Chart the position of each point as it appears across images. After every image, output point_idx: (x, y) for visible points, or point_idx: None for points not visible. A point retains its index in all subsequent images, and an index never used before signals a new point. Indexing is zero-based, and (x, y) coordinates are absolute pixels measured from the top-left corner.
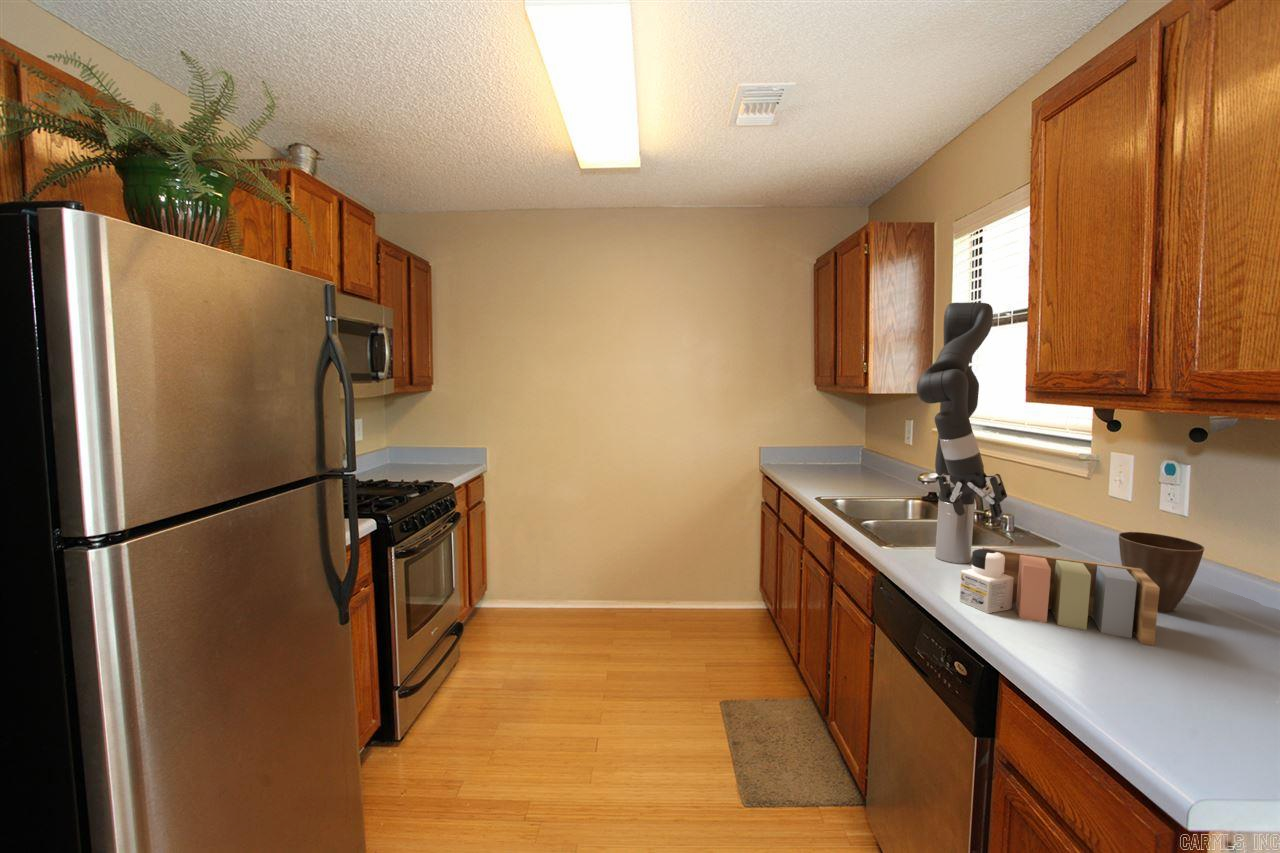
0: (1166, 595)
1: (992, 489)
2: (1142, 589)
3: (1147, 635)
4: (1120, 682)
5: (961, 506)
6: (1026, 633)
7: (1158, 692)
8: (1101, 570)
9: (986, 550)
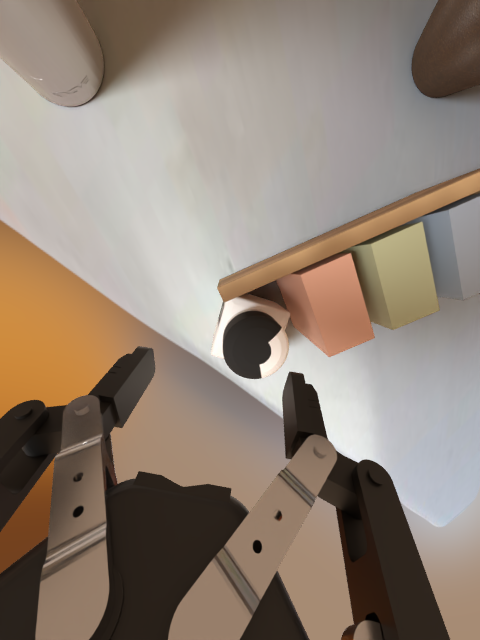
0: None
1: (312, 504)
2: None
3: None
4: (405, 414)
5: (136, 380)
6: (314, 372)
7: (432, 407)
8: (456, 252)
9: (250, 348)
